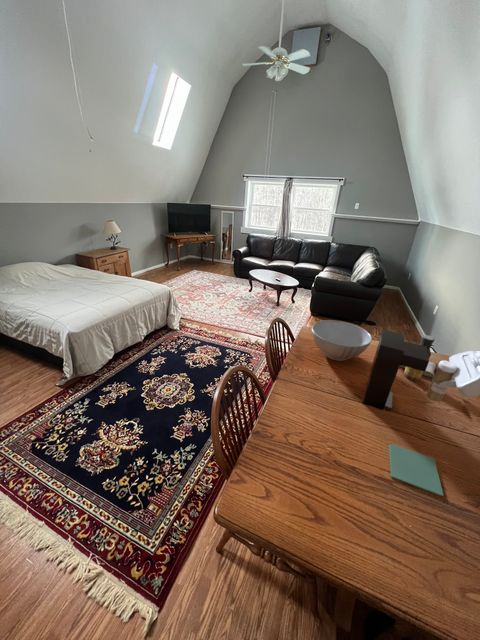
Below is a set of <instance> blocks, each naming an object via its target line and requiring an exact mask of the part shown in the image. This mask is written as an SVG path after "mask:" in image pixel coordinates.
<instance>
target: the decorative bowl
mask: <svg viewBox="0 0 480 640" xmlns="http://www.w3.org/2000/svg"><path fill="white" fill-rule="evenodd" d="M311 335H312V338H313V341H314V343H315V345H316V347H317V348H318V349H319V350H320V351H321V352H322V353H323V355H324V356H325V357H327V358H328V359H330V360H334V361H338V362H343V361H347V359H348V360H349V359H352V358H356V357H358V356H359V355H361V354H363V353H364V352H365V351H366V350H367V349H368V347H369V346H370V345H371V344H372V341H373V337H372V335H371V333H370V332H368V331H367V330H366V329H364V328H363V327H361V326H359V325H357V324H355V323H351V322H347V321H342V320H334V319H327V320H326V319H325V320H319V321H317V322H315V323H314V324H312V326H311Z"/></svg>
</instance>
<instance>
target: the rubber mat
mask: <svg viewBox="0 0 480 640" xmlns="http://www.w3.org/2000/svg"><path fill="white" fill-rule="evenodd" d="M388 453H389V467H390V468H389V469H390V477H391V478H392V479H394V480H397V481H399V482H402V483H405V484H408V485H410V486H413V487H416V488H418V489H420V490H423V491H426V492H428V493H431V494H434V495H436V496H439V497H442V498H444V492H443V488H442V484H441V479H440V475H439V471H438V467H437V463H436V459H435V458H434V457H432V456H428V455H425V454H422V453H420V452H416V451H414V450H411V449H408V448H404V447H402V446H400V445H399V446H398V445H396V444H393V443H388Z"/></svg>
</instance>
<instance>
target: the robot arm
mask: <svg viewBox="0 0 480 640" xmlns="http://www.w3.org/2000/svg"><path fill="white" fill-rule="evenodd" d="M448 361H449V362H452V363H454V364H455V365H456V366H457V370H456V371H455V372H454V373H453V378H452V379H451V380H450V381H445V380H442V381H439V385H440V387H441V388H446V387H448V388H457V390H458V391H459V392H460V394H461V395H462V397H467V398H470V397H478V396H480V350H466V351H463V352H459V353H456V354H452V355H450V356H449V357H448Z"/></svg>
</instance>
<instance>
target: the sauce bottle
mask: <svg viewBox="0 0 480 640" xmlns="http://www.w3.org/2000/svg"><path fill="white" fill-rule="evenodd" d="M435 340H436V339H435V338H434V337H433V336H431V335H429V334H428V335H427V334H424V335H423V336H422V337H421V340H420V343H419V345H422V346H426V347H427V352H428V357H429V359H430V358H431V356H432V352H431V348H432V345H433V344H434V342H435ZM422 374H423V371H421V370H417V369H413V368H410V367H406V368H404V372H403V375H404V377H405V378H406V379H408V380H410V381H413V382H416V381H419V380H421V378H422V376H423V375H422Z"/></svg>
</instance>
